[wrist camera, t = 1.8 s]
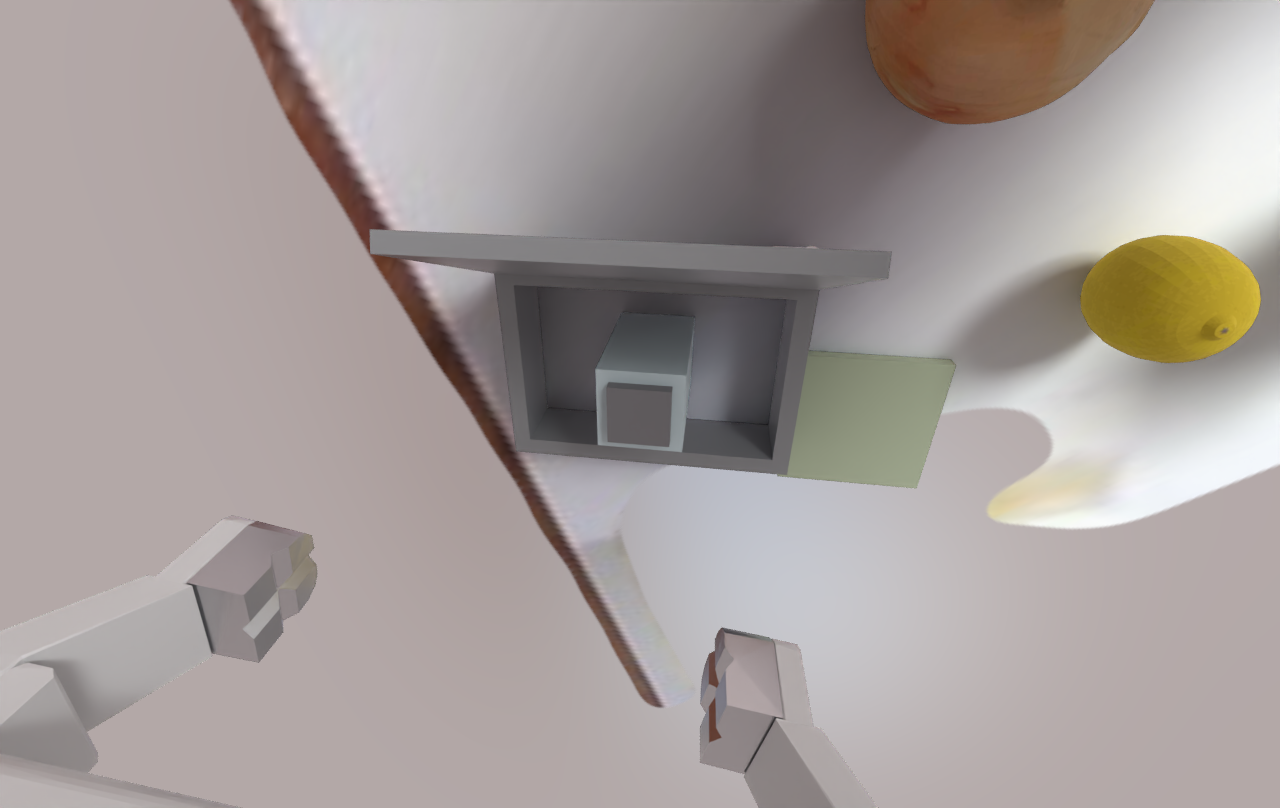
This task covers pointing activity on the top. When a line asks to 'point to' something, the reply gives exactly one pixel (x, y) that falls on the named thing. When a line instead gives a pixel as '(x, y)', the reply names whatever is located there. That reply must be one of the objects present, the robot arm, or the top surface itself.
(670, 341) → the block
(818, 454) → the pad
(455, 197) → the top surface
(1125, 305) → the lemon
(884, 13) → the onion
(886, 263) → the case
